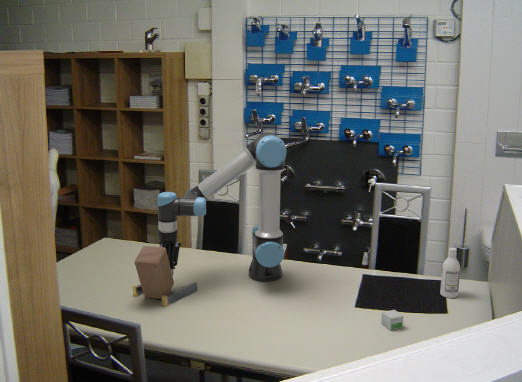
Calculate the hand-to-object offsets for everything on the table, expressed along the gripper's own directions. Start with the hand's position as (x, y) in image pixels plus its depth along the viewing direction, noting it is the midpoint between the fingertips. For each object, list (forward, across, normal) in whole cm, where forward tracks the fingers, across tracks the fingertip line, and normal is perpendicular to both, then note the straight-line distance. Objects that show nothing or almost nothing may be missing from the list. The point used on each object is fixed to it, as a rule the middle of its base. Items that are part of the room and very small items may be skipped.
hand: (169, 283), depth 228 cm
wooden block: (+1, +6, 0) cm, 6 cm away
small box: (+1, -23, +89) cm, 92 cm away
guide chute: (+3, +3, +1) cm, 4 cm away
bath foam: (+2, -62, +97) cm, 115 cm away
